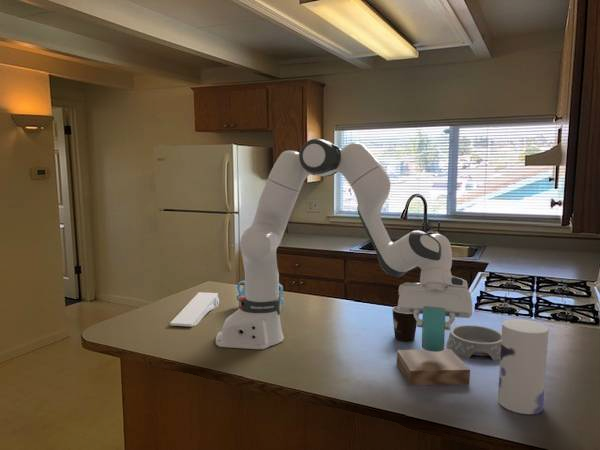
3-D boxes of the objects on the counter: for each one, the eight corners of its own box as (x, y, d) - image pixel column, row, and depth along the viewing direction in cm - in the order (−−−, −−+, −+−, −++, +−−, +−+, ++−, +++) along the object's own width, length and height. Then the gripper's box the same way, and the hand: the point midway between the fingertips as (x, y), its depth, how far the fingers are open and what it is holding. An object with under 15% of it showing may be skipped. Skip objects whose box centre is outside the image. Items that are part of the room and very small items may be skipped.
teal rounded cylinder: (425, 351, 128) (426, 312, 127) (418, 343, 134) (420, 306, 132) (447, 351, 128) (448, 312, 127) (439, 343, 134) (441, 305, 133)
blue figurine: (271, 301, 201) (271, 270, 199) (286, 312, 186) (286, 278, 185) (234, 306, 194) (234, 273, 192) (247, 317, 179) (246, 282, 178)
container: (490, 395, 119) (494, 318, 117) (527, 393, 120) (533, 317, 118) (511, 416, 110) (516, 333, 107) (551, 414, 110) (558, 332, 108)
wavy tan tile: (410, 385, 125) (410, 370, 124) (396, 363, 139) (397, 350, 138) (469, 384, 125) (470, 369, 125) (450, 362, 139) (450, 349, 139)
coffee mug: (418, 344, 153) (419, 314, 152) (391, 342, 155) (392, 312, 154) (416, 331, 165) (417, 304, 163) (391, 330, 166) (392, 302, 165)
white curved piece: (193, 343, 169) (218, 309, 196) (196, 325, 167) (221, 294, 193) (167, 335, 170) (196, 303, 197) (169, 317, 168) (198, 287, 194)
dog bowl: (513, 362, 140) (514, 345, 139) (449, 358, 143) (450, 341, 142) (500, 341, 156) (501, 326, 156) (443, 337, 160) (444, 322, 159)
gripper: (398, 276, 138) (394, 318, 130) (472, 281, 132) (473, 326, 124) (399, 287, 143) (395, 329, 135) (471, 292, 137) (471, 336, 129)
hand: (433, 327), depth 130 cm, fingers closed on teal rounded cylinder, 6 cm apart
